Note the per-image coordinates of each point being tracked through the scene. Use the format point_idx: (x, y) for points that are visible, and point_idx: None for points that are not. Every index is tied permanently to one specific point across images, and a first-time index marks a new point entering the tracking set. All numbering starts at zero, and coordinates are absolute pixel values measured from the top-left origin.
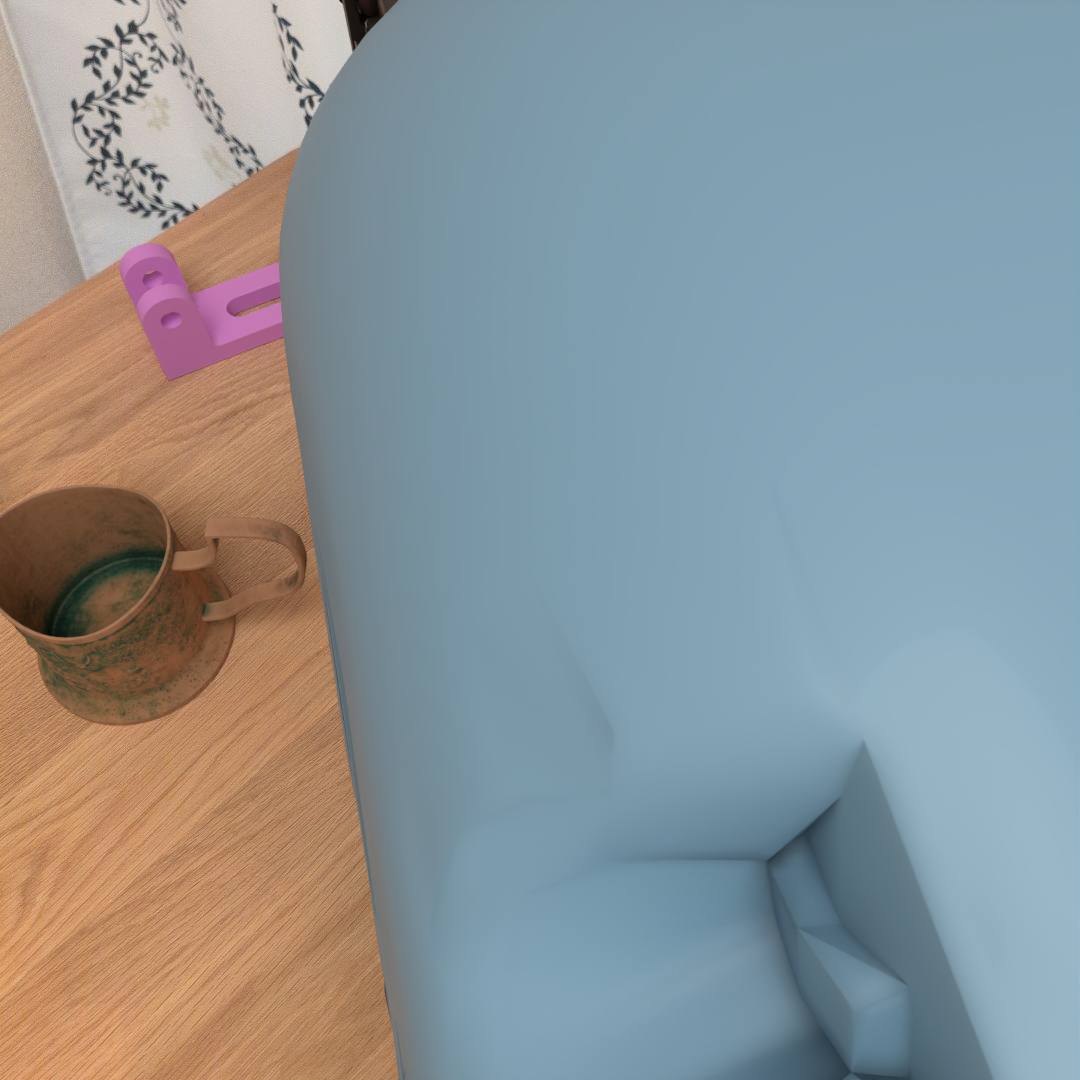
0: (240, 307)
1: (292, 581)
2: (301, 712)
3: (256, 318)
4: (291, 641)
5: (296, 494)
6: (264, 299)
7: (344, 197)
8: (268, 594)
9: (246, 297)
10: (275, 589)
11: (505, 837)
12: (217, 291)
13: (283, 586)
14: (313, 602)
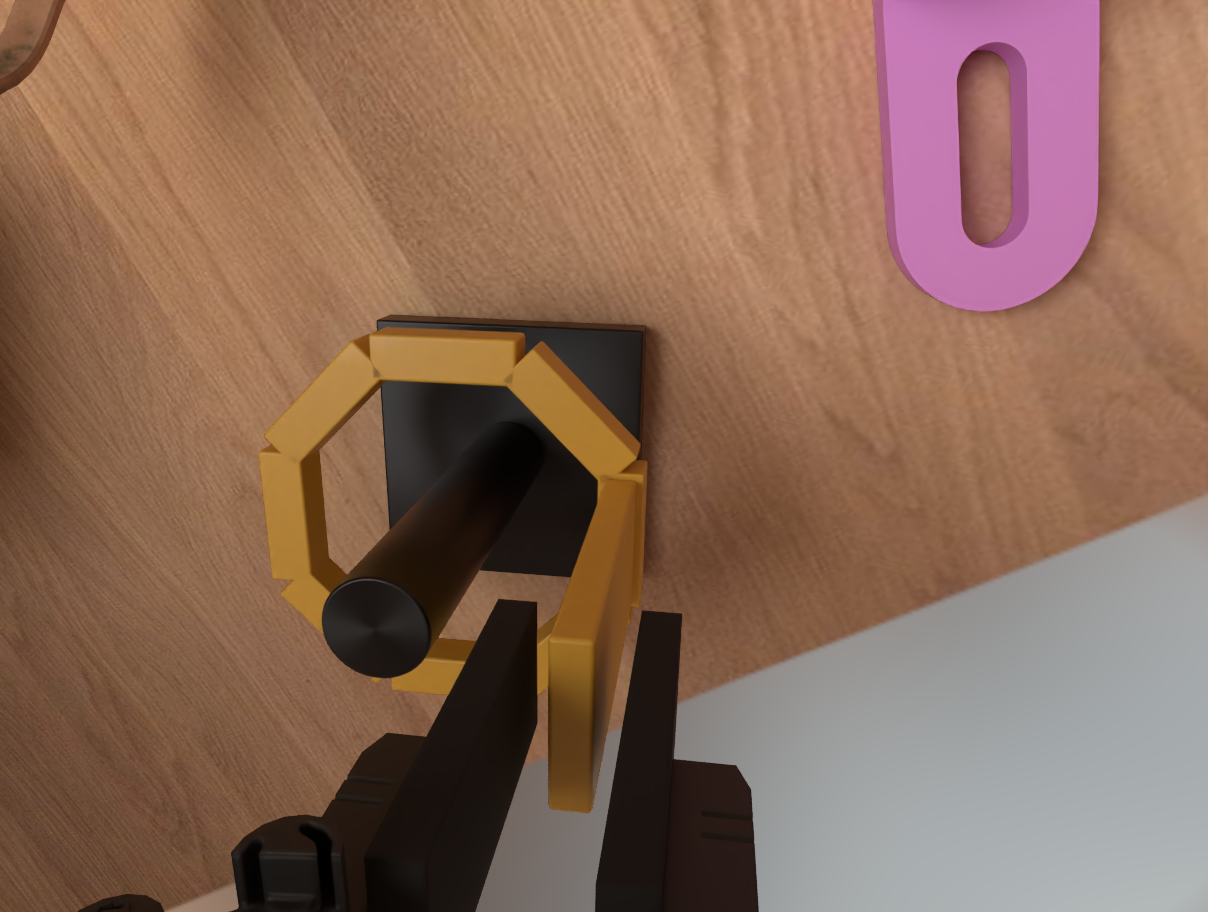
0: (1013, 81)
1: (3, 60)
2: None
3: (932, 115)
4: (145, 39)
5: (455, 113)
6: (1014, 146)
7: None
8: (21, 2)
9: (1023, 102)
10: (25, 19)
11: None
12: (1073, 27)
13: (18, 38)
14: (215, 97)
